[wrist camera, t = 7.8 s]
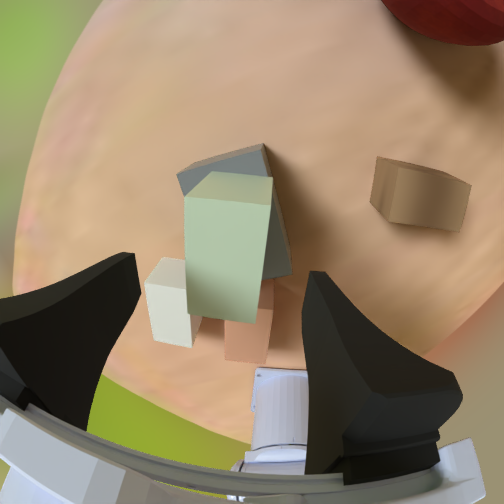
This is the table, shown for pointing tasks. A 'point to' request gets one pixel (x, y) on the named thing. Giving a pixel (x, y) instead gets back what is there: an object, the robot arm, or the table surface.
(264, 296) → the terracotta brick
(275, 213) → the charcoal brick
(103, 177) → the table surface
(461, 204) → the walnut brick
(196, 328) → the pale grey brick
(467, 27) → the apple
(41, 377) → the robot arm
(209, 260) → the sage brick
